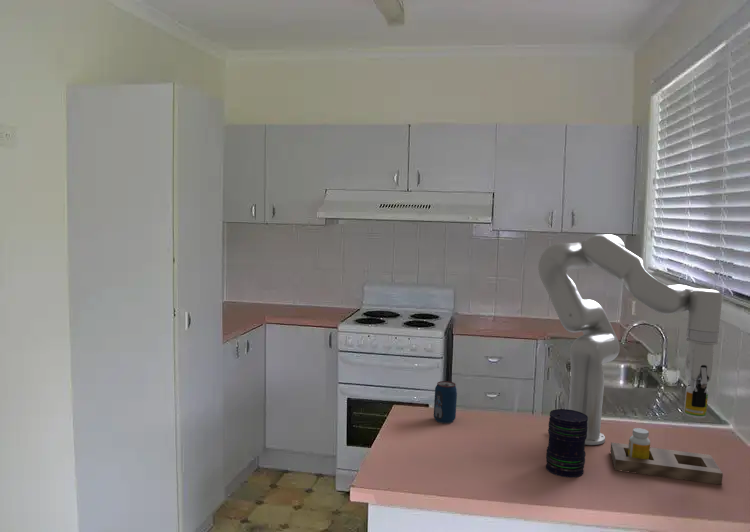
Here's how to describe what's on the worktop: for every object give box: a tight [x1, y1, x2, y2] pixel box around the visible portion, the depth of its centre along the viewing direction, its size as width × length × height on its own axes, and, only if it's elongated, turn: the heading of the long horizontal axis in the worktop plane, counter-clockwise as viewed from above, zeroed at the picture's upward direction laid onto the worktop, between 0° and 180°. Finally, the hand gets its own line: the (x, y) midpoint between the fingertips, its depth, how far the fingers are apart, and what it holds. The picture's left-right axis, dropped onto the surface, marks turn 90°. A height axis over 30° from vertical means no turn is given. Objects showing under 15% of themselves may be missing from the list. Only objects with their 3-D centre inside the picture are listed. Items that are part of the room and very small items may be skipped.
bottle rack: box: [609, 442, 724, 486], centre depth 180 cm, size 26×13×3 cm, turn 76°
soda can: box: [433, 380, 458, 425], centre depth 210 cm, size 7×7×12 cm
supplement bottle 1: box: [628, 427, 651, 460], centre depth 182 cm, size 5×5×10 cm
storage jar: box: [545, 408, 588, 479], centre depth 175 cm, size 10×10×15 cm
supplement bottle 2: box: [683, 378, 709, 419], centre depth 177 cm, size 5×5×10 cm
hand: (695, 402), depth 177 cm, fingers closed on supplement bottle 2, 5 cm apart
